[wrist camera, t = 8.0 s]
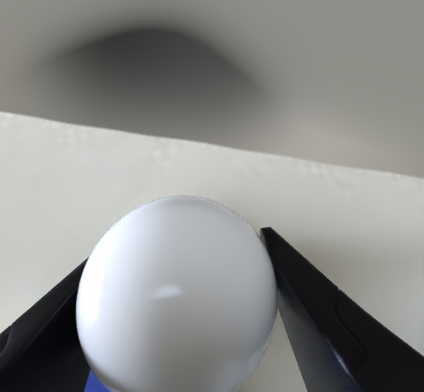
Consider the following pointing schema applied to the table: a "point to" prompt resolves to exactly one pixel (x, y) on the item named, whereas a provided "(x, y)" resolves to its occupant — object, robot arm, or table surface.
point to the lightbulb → (177, 299)
